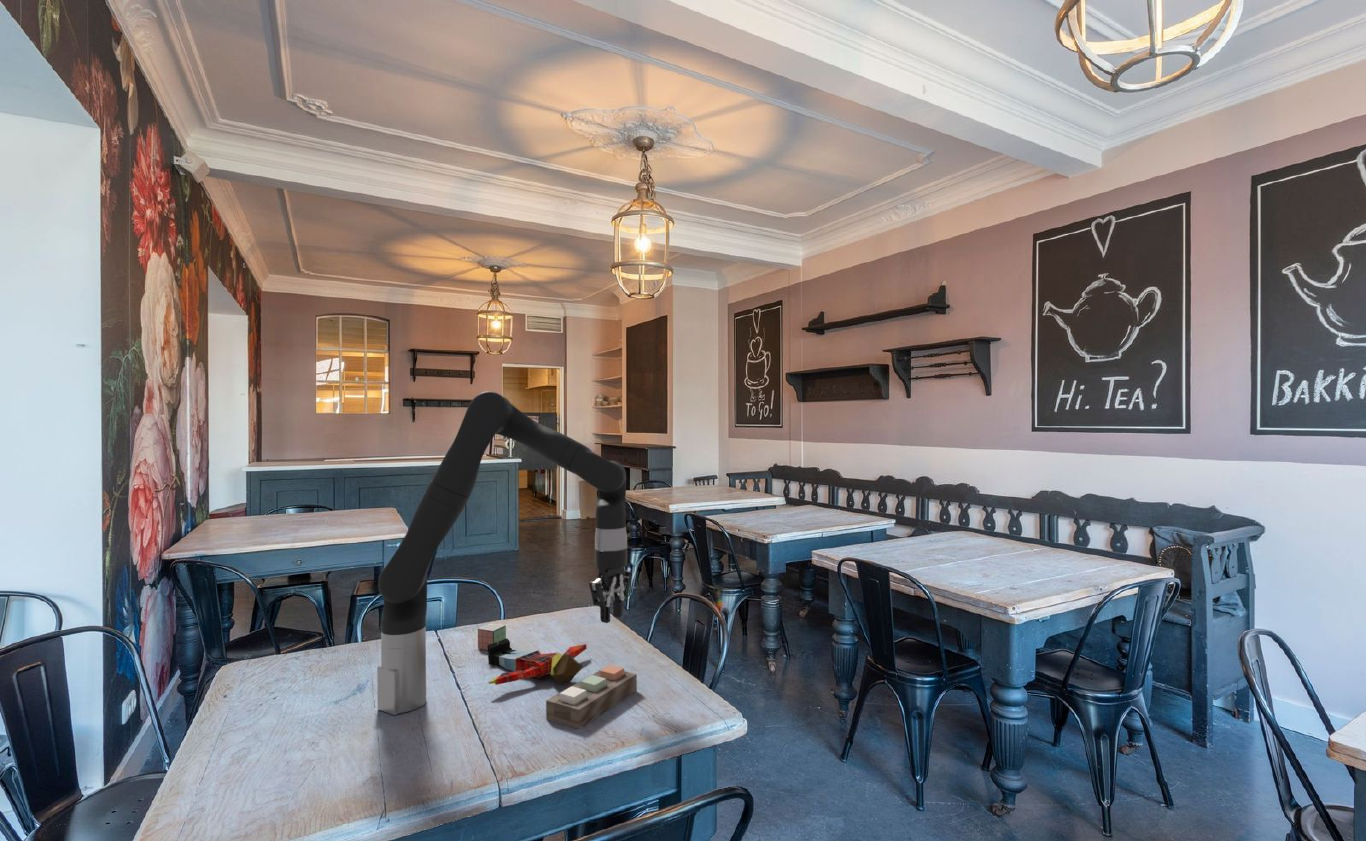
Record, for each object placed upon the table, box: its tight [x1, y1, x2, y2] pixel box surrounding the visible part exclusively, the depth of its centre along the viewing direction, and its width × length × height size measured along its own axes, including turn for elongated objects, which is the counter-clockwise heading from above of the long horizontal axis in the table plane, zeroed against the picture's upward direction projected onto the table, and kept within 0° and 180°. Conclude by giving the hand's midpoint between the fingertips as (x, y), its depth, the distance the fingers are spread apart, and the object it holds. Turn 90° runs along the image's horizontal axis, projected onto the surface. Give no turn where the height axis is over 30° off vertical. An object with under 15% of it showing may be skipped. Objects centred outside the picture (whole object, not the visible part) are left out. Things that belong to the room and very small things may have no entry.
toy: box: [487, 638, 588, 686], centre depth 160 cm, size 31×8×30 cm
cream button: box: [559, 685, 586, 705], centre depth 135 cm, size 4×4×3 cm
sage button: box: [580, 674, 606, 692], centre depth 141 cm, size 4×4×3 cm
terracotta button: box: [599, 664, 625, 681], centre depth 147 cm, size 4×4×3 cm
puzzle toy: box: [477, 623, 507, 651], centre depth 179 cm, size 6×6×6 cm
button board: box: [545, 666, 638, 730], centre depth 141 cm, size 21×9×4 cm, turn 150°
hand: (611, 619), depth 147 cm, fingers open, 4 cm apart
